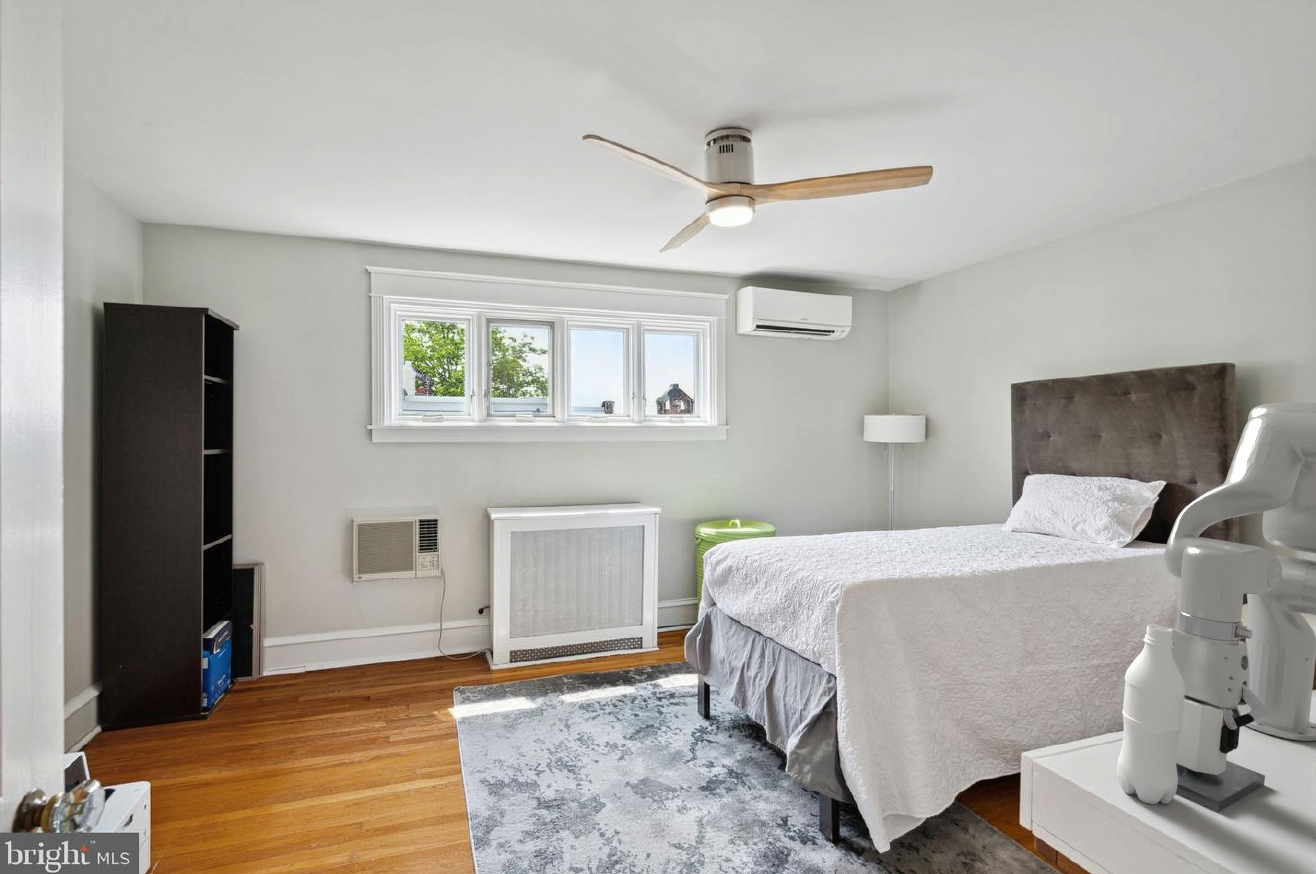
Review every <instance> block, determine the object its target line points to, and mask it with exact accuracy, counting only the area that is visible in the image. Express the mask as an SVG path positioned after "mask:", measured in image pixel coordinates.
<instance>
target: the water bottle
mask: <svg viewBox="0 0 1316 874" xmlns="http://www.w3.org/2000/svg"><path fill="white" fill-rule="evenodd" d="M1145 631H1146V634H1145V635H1144V638H1143V642H1144V646H1143V648H1142V651H1141V652H1140V653H1139V654H1138V655H1137V656H1136V657H1135V659H1134V660H1133V662H1131V664H1130V665H1129V667H1128V668H1127V670H1126V672H1125V676H1124V681H1125V685H1124V694H1123V695H1124V696H1123V707H1122V711H1121V712H1122V719H1123V736H1122V744H1121V750H1120V753H1119V756H1118V759H1117V763H1116V775H1117V779H1118V782H1119V785H1120V786H1121V789H1122V790H1123V791H1124V792H1125V793H1126V794H1129V795H1132V794H1134V793H1136V794H1137V797H1138V798H1139V800H1140V801H1142V802H1143V803H1146V804H1150V805H1156V804H1158V803H1159V802H1160V803H1162V804H1164V805H1165V804H1169V803H1170V802H1171V801H1172V800H1173V799H1174V797H1175V795H1176V794H1177V793H1176V791H1177V784H1178V775H1177V767H1176V750H1177V743H1178V738H1179V735H1180V731H1181V729H1182V717H1183V707H1184V696H1185V694H1186V687H1185V683H1184V680H1183V677H1182V675H1181V673H1180V671H1179V669H1178V667H1177V665H1176V663H1175V661H1174V659H1173V656H1172V648H1173V647H1174V645H1173V644H1172V642H1173V641H1172V635H1173V634H1172V633H1173V631H1172V629H1171V628H1169V627H1167V626H1164V625H1159V624H1158V625H1157V624H1150V623H1149V624H1147V625H1146V630H1145Z"/></svg>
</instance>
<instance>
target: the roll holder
mask: <svg viewBox="0 0 1316 874" xmlns="http://www.w3.org/2000/svg"><path fill="white" fill-rule="evenodd" d="M1176 767H1177V775H1178V784H1177V791H1176V793H1175V794H1176V795H1180V796H1181V797H1183V798H1185V799H1188V800H1190V801H1191V802H1195V803H1197V804H1199V805H1201V806H1203V807H1205V808H1208V809H1210V810H1212V811H1215V812H1216V813H1219V812H1221V811H1223V810H1225V809H1227V808H1228V807H1230V806H1231V805H1233V804H1235V803H1237V802H1238V801H1240V800H1241V799H1243V798H1245V797H1246V796H1248V795H1250V794H1252V793H1254V792H1255V791H1257V790H1258V789H1260V788H1262V787H1264V786H1265V780H1266V775H1265V774H1261V773H1259V772H1257V771H1255V770H1252V769H1249V768H1247V767H1244V766H1242V765H1239V764H1236V763H1234V762H1231V761H1229V760H1227V759H1226V769H1225V771H1224V772H1222V773H1220V774H1218V775H1215V774H1209V773H1202V772H1196V771H1194V770H1191V769H1189V768H1187V767H1184V766H1182V765H1179V764H1177V763H1176Z"/></svg>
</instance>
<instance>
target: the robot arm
mask: <svg viewBox="0 0 1316 874" xmlns="http://www.w3.org/2000/svg"><path fill="white" fill-rule="evenodd" d="M1233 455H1234V456H1233V458H1232V461H1231V463H1230V464H1231V465H1230V467H1229V469H1228V472H1227V475H1226V478H1225V480H1224V482H1223V483H1222V484H1221V485H1219V486H1217V487H1215V488H1212V489H1211V490H1209V491H1207V492H1205V493H1203V494H1201V495H1200V496H1199V497H1197V498H1196V499H1194V500H1193V501H1192V502H1190V503H1189V504H1188V505H1186V506H1185V507H1184V508H1183V509H1182V511H1181V512H1180V513H1179V514H1178V516H1177V518H1176V519H1175V522H1174V523H1173V526H1172V529H1171V531H1170V535H1169V537H1168V539H1167V543H1166V546H1165V550H1164V558H1163V559H1164V565H1165V568H1166V570H1167V571H1168V573H1170V574H1171V575H1172V576H1173V577H1174V578H1177V579H1180V581H1179V594H1178V602H1177V617H1176V618H1177V619H1176V625H1175V626H1172V627H1171V628H1170V629H1172V631H1173V633H1172V634H1173V635H1172V641H1173V642H1172V644H1173V645H1174V647H1173V648H1172V656H1173V659H1174V661H1175V663H1176V665H1177V667H1178V669H1179V671H1180V673H1181V675H1182V677H1183V680H1184V683H1185V687H1186V694H1185V696H1187V697H1190V698H1193V699H1196V700H1199V701H1202V702H1205V703H1208V704H1211V705H1214V706H1217V707H1219V708H1220V709H1222V710H1224V711H1223V717H1224V720H1225V722H1226V724H1225V726H1222V728H1221V739H1220V749H1219V750H1220V751H1221V752H1222V753H1224V754H1227V755H1228V753H1231V752H1232V751H1235V750H1237V749H1238V747H1239V740H1240V739H1239V738H1240V730H1241V727H1244V726H1245V727H1248V728H1250V729H1253V730H1256V731H1259V732H1261V733H1263V734H1267V735H1270V736H1274V737H1278V738H1284V739H1287V740H1293V741H1300V742H1312V741H1316V725H1314V724H1313V723H1311V722H1310V717H1311V706H1312V699H1313V698H1312V696H1313V688H1314V676H1315V668H1316V667H1315V666H1316V633H1315V631H1314V630H1313V628H1312V626H1311V625H1310V623H1309V622H1308V621H1307V620H1306V618H1305V617H1304V615H1303V614H1306V615H1313V616H1316V560H1310V559H1306V558H1305V559H1304V558H1300V557H1292V556H1286V555H1280V554H1277V555H1276V554H1275V553H1274V552H1272V551H1270V550H1268V549H1266V548H1263V547H1260V546H1256V545H1252V544H1251V545H1250V544H1244V543H1237V542H1231V541H1228V540H1222V539H1221V540H1220V539H1216V538H1209V537H1204V536H1203V537H1202V536H1200V535H1201V534H1202V533H1203V532H1204V531H1205V530H1206V529H1207V528H1208V527H1210V526H1212V525H1214V524H1216V523H1219V522H1221V521H1224V520H1228V519H1232V518H1237V517H1243V516H1247V515H1248V516H1249V515H1253V514H1258V513H1263V517H1262V528H1261V529H1262V535H1263V538H1264V539H1265V541H1267V543H1269V544H1270V545H1272V546H1275V547H1278V548H1281V549H1287V550H1291V551H1298V552H1302V553H1303V552H1304V553H1309V554H1310V553H1311V554H1316V402H1289V401H1288V402H1286V401H1285V402H1271V403H1270V402H1269V403H1264V404H1261V405H1257V406H1255V407H1253V408H1252V409H1251V410H1250V412H1249V413H1248V417H1247V423H1246V424H1245V426H1244V428H1243V430H1242V433H1241V435H1240V439H1239V441H1238V444H1237V447H1236V449H1235V453H1234V454H1233ZM1244 594H1245V595H1246V598H1247V621H1246V622H1247V623H1246V627H1245V626H1244V625H1243V623H1244V622H1243V621H1242V618H1243V617H1242V614H1243V604H1244ZM1244 638H1245V641H1244V640H1243V641H1242V640H1241V639H1244Z"/></svg>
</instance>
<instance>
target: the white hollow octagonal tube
mask: <svg viewBox="0 0 1316 874" xmlns="http://www.w3.org/2000/svg"><path fill="white" fill-rule="evenodd" d="M1223 711H1224V710H1222V709H1220V708H1219V707H1217V706H1214V705H1211V704H1208V703H1205V702H1202V701H1199V700H1196V699H1193V698H1190V697H1187V696H1184V707H1183V717H1182V729H1181V731H1180V735H1179V738H1178V743H1177V750H1176V763H1177V764H1179V765H1182V766H1184V767H1187V768H1189V769H1191V770H1194V771H1196V772H1202V773H1209V774H1215V775H1218V774H1220V773H1222V772H1224V771H1225V769H1226V760H1227V757H1228V753H1227V754H1224V753H1222V752H1221V751H1220V750H1219V749H1220V739H1221V728H1222V726H1225V724H1226V722H1225V720H1224V717H1223Z"/></svg>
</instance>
